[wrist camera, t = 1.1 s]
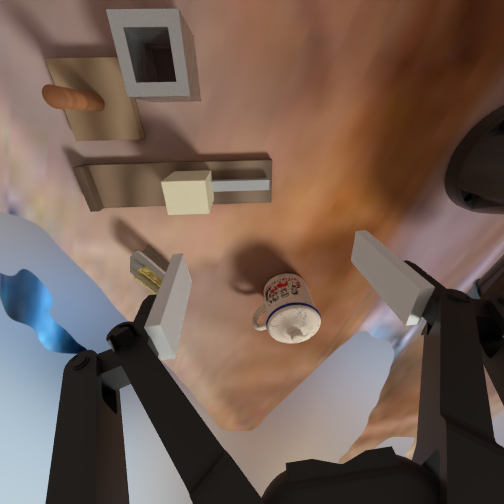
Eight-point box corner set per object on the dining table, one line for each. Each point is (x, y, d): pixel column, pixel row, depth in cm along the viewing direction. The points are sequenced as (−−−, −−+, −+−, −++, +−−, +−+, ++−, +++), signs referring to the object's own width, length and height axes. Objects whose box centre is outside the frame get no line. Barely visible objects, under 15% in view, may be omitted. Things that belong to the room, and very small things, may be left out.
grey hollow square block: (193, 35, 25) (178, 8, 19) (200, 101, 28) (190, 95, 22) (138, 36, 24) (105, 9, 18) (152, 101, 28) (127, 97, 22)
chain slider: (268, 168, 31) (274, 178, 26) (268, 196, 33) (273, 211, 28) (174, 171, 30) (160, 181, 25) (179, 199, 32) (168, 214, 27)
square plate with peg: (126, 60, 25) (79, 36, 18) (144, 138, 29) (113, 144, 22) (54, 61, 25) (-22, 37, 18) (83, 140, 29) (31, 146, 22)
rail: (271, 159, 32) (273, 161, 29) (270, 200, 35) (272, 205, 33) (83, 164, 31) (72, 167, 29) (99, 205, 34) (90, 211, 32)
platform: (175, 305, 46) (166, 331, 40) (98, 244, 38) (73, 266, 32) (220, 276, 42) (218, 300, 37) (146, 203, 34) (128, 219, 29)
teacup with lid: (298, 264, 41) (316, 310, 31) (313, 296, 45) (334, 346, 35) (241, 288, 43) (241, 338, 33) (260, 316, 48) (266, 369, 38)
